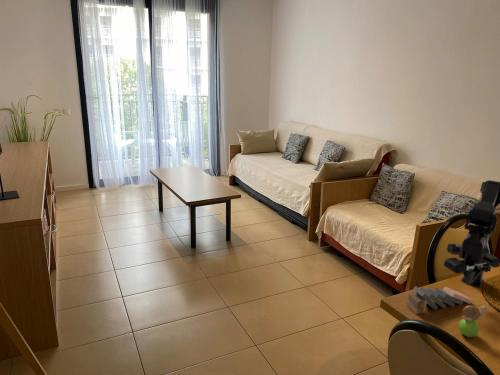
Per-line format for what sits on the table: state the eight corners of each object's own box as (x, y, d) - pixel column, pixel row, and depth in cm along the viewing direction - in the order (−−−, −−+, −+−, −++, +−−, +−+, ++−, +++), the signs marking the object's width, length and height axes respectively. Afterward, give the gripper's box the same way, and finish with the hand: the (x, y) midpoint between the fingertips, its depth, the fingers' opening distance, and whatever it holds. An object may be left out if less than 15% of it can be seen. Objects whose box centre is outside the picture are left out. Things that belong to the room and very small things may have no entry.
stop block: (414, 305, 130) (416, 292, 129) (423, 312, 126) (425, 300, 125) (406, 306, 130) (408, 294, 128) (415, 314, 126) (417, 301, 124)
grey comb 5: (429, 300, 132) (415, 286, 128) (438, 307, 128) (424, 293, 124) (426, 303, 132) (412, 289, 128) (435, 310, 128) (421, 296, 124)
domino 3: (445, 296, 134) (429, 287, 130) (455, 303, 130) (438, 294, 126) (443, 299, 134) (427, 290, 130) (453, 307, 130) (436, 297, 126)
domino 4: (453, 295, 135) (436, 287, 131) (463, 302, 131) (446, 294, 127) (451, 298, 135) (434, 290, 131) (461, 305, 131) (444, 297, 127)
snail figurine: (483, 342, 113) (491, 308, 109) (460, 339, 114) (467, 305, 110) (476, 331, 118) (484, 298, 114) (454, 328, 119) (461, 295, 115)
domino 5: (462, 293, 136) (444, 286, 132) (472, 300, 132) (454, 293, 128) (460, 296, 136) (442, 289, 132) (470, 303, 132) (452, 296, 128)
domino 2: (437, 298, 133) (422, 286, 129) (446, 305, 129) (431, 293, 125) (434, 301, 133) (419, 290, 129) (444, 308, 129) (428, 297, 125)
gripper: (478, 231, 137) (470, 269, 142) (435, 236, 132) (428, 276, 137) (505, 244, 127) (496, 285, 131) (461, 251, 122) (452, 293, 126)
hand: (467, 284), depth 132 cm, fingers closed
